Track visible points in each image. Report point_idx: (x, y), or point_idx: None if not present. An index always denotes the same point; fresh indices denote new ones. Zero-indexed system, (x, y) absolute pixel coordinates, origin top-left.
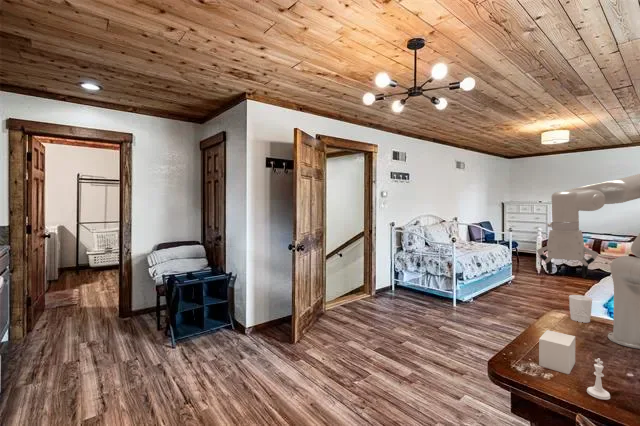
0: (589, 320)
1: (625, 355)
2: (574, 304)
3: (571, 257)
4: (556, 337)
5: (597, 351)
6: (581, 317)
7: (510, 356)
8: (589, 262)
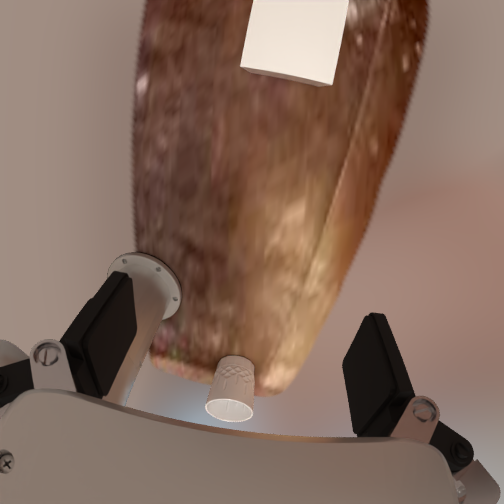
0: (218, 364)
1: (146, 198)
2: (242, 390)
3: (128, 441)
4: (299, 21)
5: (198, 188)
6: (232, 364)
7: (403, 38)
8: (21, 368)
